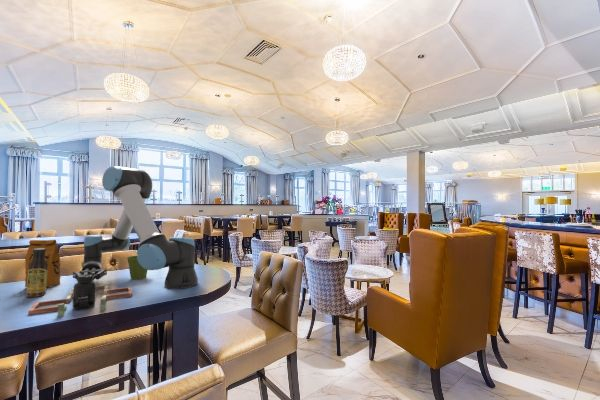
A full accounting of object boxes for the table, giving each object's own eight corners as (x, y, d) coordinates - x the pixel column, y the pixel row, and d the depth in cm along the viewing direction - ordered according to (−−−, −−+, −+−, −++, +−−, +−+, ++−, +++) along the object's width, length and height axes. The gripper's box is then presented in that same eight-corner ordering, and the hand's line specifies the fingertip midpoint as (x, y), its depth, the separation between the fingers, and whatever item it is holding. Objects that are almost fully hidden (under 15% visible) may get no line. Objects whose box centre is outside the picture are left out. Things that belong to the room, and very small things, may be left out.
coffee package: (50, 288, 135) (51, 240, 136) (20, 289, 134) (21, 241, 134) (64, 282, 145) (65, 238, 146) (36, 283, 144) (37, 238, 144)
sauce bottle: (24, 298, 121) (25, 250, 121) (29, 294, 126) (30, 248, 127) (44, 296, 124) (45, 249, 124) (49, 292, 129) (49, 247, 130)
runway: (44, 295, 125) (44, 286, 125) (130, 285, 141) (130, 277, 141) (22, 322, 97) (23, 309, 97) (133, 305, 114) (133, 294, 114)
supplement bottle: (79, 311, 107) (80, 278, 107) (68, 308, 110) (69, 276, 110) (99, 305, 113) (99, 274, 113) (88, 303, 116) (89, 272, 116)
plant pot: (138, 281, 148) (139, 259, 148) (120, 280, 151) (120, 258, 152) (156, 276, 159) (156, 255, 160) (138, 274, 163) (139, 254, 163)
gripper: (107, 276, 143) (106, 288, 123) (74, 279, 136) (66, 293, 116) (107, 260, 143) (106, 270, 123) (74, 263, 136) (67, 274, 116)
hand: (87, 281), depth 120 cm, fingers closed
